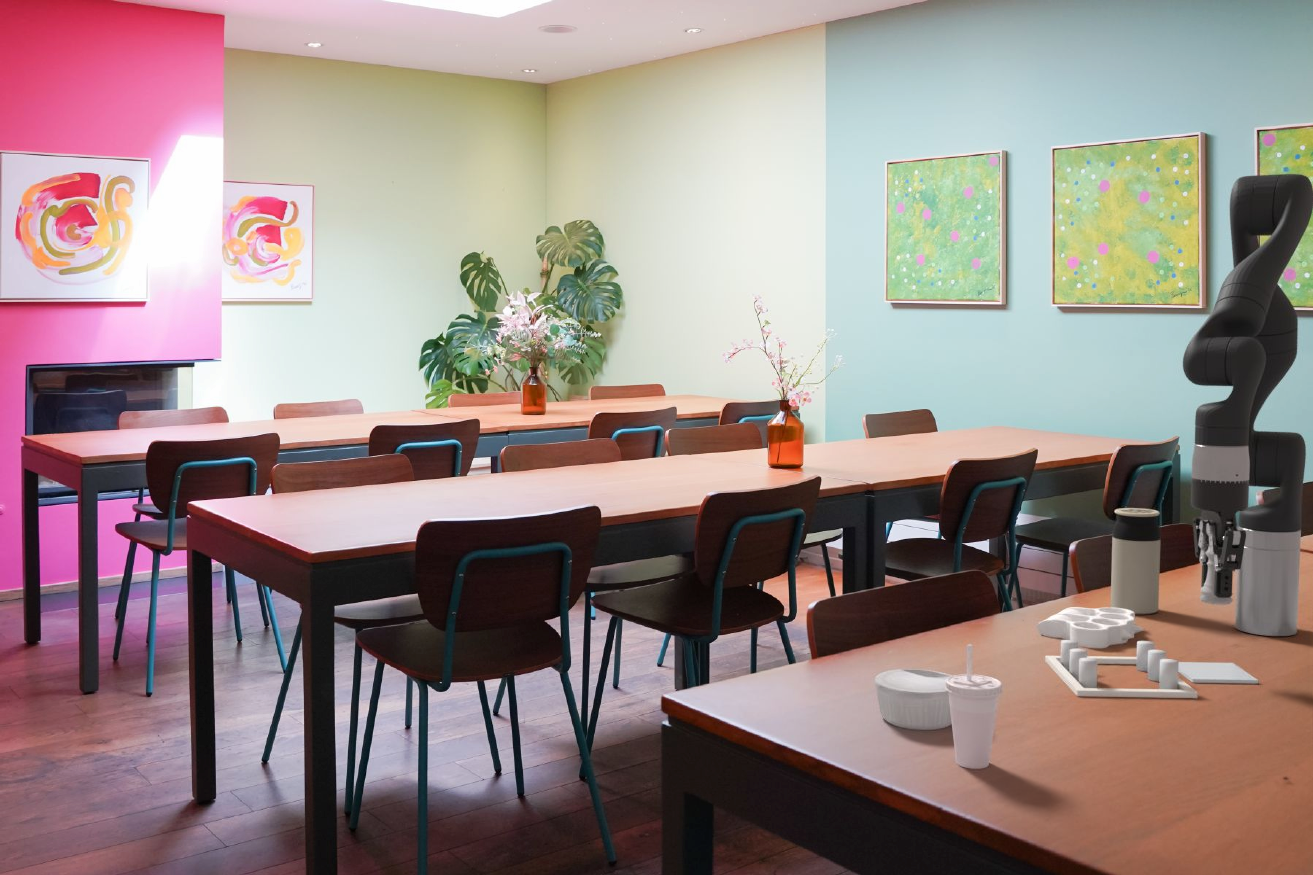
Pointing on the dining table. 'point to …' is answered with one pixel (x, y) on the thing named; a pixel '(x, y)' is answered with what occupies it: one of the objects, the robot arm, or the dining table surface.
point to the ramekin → (914, 698)
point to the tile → (1214, 673)
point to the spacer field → (1145, 661)
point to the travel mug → (1136, 560)
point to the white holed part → (1091, 626)
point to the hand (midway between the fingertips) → (1216, 592)
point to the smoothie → (973, 715)
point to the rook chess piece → (1212, 584)
